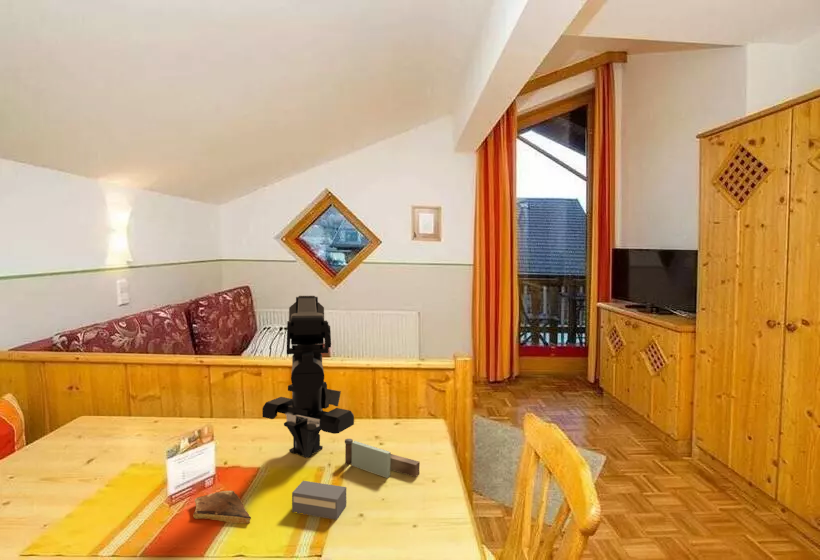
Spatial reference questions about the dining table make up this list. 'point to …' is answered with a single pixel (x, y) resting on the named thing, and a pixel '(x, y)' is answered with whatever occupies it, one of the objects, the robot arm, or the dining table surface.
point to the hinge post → (348, 451)
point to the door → (371, 459)
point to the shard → (221, 507)
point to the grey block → (319, 499)
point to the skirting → (404, 465)
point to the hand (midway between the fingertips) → (307, 456)
